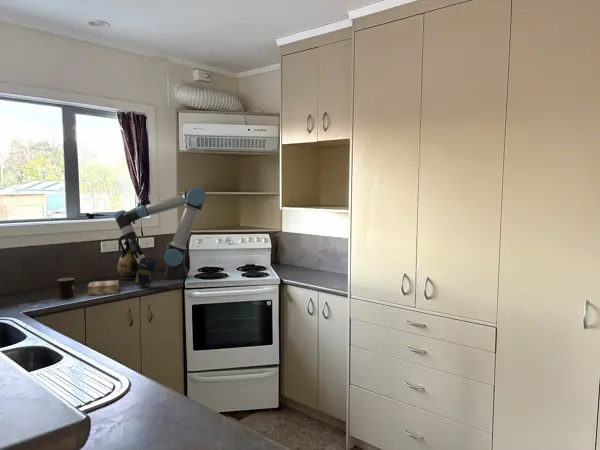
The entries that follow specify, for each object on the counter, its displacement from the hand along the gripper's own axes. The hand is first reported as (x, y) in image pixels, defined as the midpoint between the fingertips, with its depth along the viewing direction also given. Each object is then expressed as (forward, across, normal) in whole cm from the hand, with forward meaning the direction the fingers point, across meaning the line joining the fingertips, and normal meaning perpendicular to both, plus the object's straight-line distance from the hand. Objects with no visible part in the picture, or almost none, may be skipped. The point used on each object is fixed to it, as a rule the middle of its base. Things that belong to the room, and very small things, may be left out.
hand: (143, 263), depth 286 cm
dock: (+7, +15, -24) cm, 29 cm away
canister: (+13, +5, -5) cm, 15 cm away
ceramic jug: (+2, -24, -18) cm, 30 cm away
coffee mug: (+2, +24, -40) cm, 46 cm away
